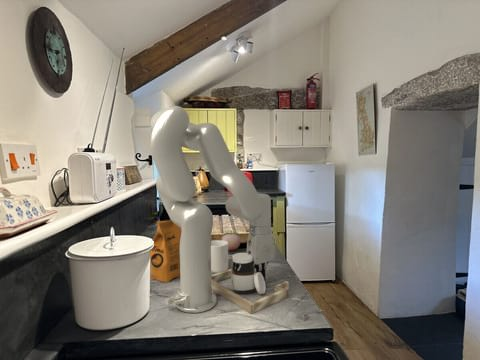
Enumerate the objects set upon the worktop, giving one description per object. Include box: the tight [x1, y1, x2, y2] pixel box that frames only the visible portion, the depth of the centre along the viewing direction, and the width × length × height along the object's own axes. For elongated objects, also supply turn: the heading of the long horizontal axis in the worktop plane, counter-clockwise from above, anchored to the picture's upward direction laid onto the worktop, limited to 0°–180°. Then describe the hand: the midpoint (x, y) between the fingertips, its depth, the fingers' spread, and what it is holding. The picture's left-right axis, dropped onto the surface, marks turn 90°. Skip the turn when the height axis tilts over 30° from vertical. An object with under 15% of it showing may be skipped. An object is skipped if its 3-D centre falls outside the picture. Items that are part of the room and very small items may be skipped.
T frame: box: [211, 268, 290, 315], centre depth 99 cm, size 20×25×2 cm
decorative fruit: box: [221, 230, 242, 252], centre depth 138 cm, size 9×8×10 cm
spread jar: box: [230, 252, 266, 295], centre depth 97 cm, size 12×11×12 cm
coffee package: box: [149, 219, 182, 283], centre depth 109 cm, size 10×12×22 cm
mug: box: [211, 239, 229, 274], centre depth 118 cm, size 9×12×11 cm
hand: (260, 279), depth 102 cm, fingers closed
